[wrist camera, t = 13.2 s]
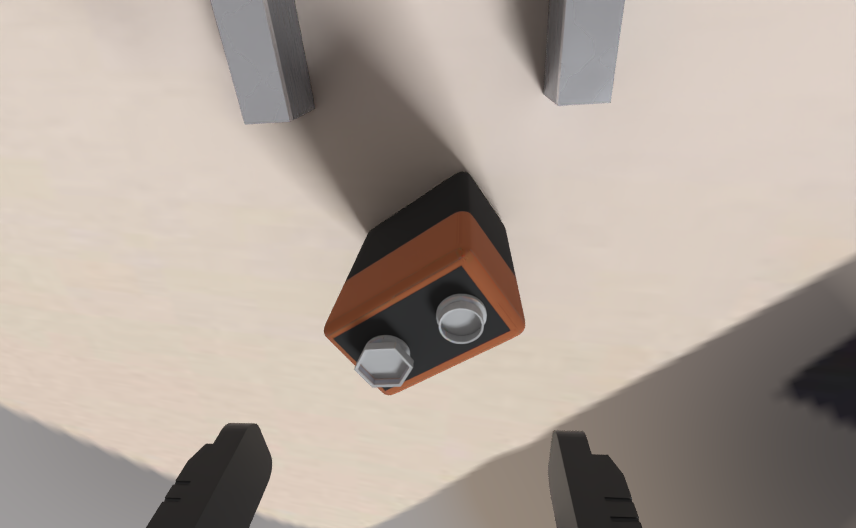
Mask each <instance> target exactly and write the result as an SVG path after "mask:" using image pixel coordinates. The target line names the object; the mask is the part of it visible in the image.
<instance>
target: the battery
mask: <svg viewBox="0 0 856 528" xmlns="http://www.w3.org/2000/svg"><path fill="white" fill-rule="evenodd" d="M524 328H525V318H524V314H523V309H522V304H521V300H520V295H519V290H518V285H517V281H516V276H515V271H514V267H513V262H512V257H511V252H510V248H509V243H508V238H507V234H506V229H505V227H504V225H503V223H502V222H501V220H500V219H499V217H498V216H497V214H496V213H495V212H494V210H493V209H492V207H491V206H490V204H489V203H488V201H487V200H486V198H485V197H484V195H483V194H482V192H481V191H480V189H479V188H478V186H477V185H476V183H475V182H474V180H473V179H472V178H471V176H470V175H469V174H468V173H467V172H459V173H457V174H455V175H454V176H452V177H450V178H449V179H447V180H446V181H444V182H443V183H441V184H440V185H438V186H437V187H435V188H434V189H432V190H431V191H429V192H428V193H426V194H425V195H423V196H422V197H420V198H419V199H417V200H416V201H414V202H413V203H411V204H410V205H408V206H407V207H405V208H404V209H402V210H401V211H399V212H398V213H396V214H395V215H393V216H392V217H390V218H389V219H387V220H385V221H384V222H382V223H381V224H379V225H378V226H376V227H375V228H374V229H372V230H371V231H370V232H369V233H368V235H367V237H366V239H365V241H364V243H363V245H362V247H361V249H360V252H359V254H358V256H357V258H356V260H355V262H354V264H353V267H352V269H351V271H350V273H349V275H348V277H347V279H346V282H345V284H344V286H343V288H342V290H341V292H340V294H339V296H338V299H337V301H336V303H335V305H334V307H333V309H332V311H331V314H330V316H329V318H328V320H327V322H326V324H325V327H324V334H325V336H326V337H327V338H328V339H329V340H330V341H331V342H332V343H333V344H334V345H335V346H336V347H337V348H338V349H339V350H340V351H341V352H342V353H343V354H344V355H345V356H346V357H347V358H348V359H349V360H350V361H351V362H352V363H353V364H354V365H355V369H354V370H355V371H356V372H357V373H358V374H359V375H360V376H361V377H362V378H363V379H364V380H365V381H366V382H367V383H368V384H369V385H370V386H371V387H377V388H378V389H379V390H380V391H382V392H383V393H384V394H386V395H393V394H395V393H398V392H400V391H402V390H404V389H406V388H408V387H411V386H413V385H415V384H417V383H419V382H421V381H423V380H425V379H427V378H430V377H432V376H434V375H436V374H438V373H440V372H442V371H444V370H447V369H449V368H451V367H453V366H455V365H457V364H459V363H461V362H463V361H466V360H468V359H470V358H472V357H474V356H476V355H478V354H480V353H482V352H485V351H487V350H489V349H491V348H493V347H495V346H497V345H499V344H502V343H504V342H506V341H508V340H510V339H512V338H514V337H516V336H518V335H519V334H521V333H522V332H523V330H524Z"/></svg>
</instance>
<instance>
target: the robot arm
mask: <svg viewBox="0 0 856 528" xmlns="http://www.w3.org/2000/svg"><path fill="white" fill-rule="evenodd" d="M271 470H272V458H271V455H270V452H269V450H268V447H267V445H266V442H265V440H264V438H263V435H262V433H261V430H260V428H259V426H258V425H257V424H252V423H228V424H227V425H225V426H224V427H223V429H222V430H221V432H220V433H219V435H218V437H217V438H216V440H215V442H214V444H205V445H204V446H203V447H202V448H201V449H200V450H199V451H198V452H197V453H196V454H195V455H194V456H193V457H192V458H190V459H189V460H188V462H187V463H186V465H185V466H184V468H183V470H182V471H181V473H180V474H179V476H178V478H177V479H176V483H175V485H173V486H172V487H171V489H170V490H169V492H168V493H167V495H166V497H165V501H164V502H162V503H161V505H160V506H159V508H158V509H157V511H156V513H155V514H154V516H153V517H152V519H151V520H150V522H149V524H148V526H147V527H146V528H249V526H250V524H251V521H252V519H253V517H254V514H255V512H256V510H257V507H258V505H259V503H260V500H261V498H262V496H263V493H264V491H265V489H266V486H267V484H268V482H269V479H270V475H271ZM548 475H549V487H550V493H551V499H552V504H553V510H554V515H555V521H556V526H557V528H642V526H641V523H640V522H639V517H638V514H637V511H636V508H635V506H634V503H633V502H632V497H631V494H630V491H629V489H628V486H627V483H626V480H625V477H624V475H623V473H622V472H621V471H620V470H619V468H618V467H617V466H616V464H615V463H614V462H613V461H612V460H611V458H610V457H609V456H608V455H593V454H591V451H590V448H589V444H588V440H587V437H586V435H585V433H584V432H583V431H556V430H554V431H553V434H552V441H551V449H550V457H549V465H548Z"/></svg>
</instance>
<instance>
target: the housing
mask: <svg viewBox="0 0 856 528" xmlns="http://www.w3.org/2000/svg"><path fill="white" fill-rule="evenodd" d="M624 2H625V0H549V14H548V30H547V45H546V61H545V77H544V92H543V94H544V95H545V96H546V97H548V98H549V99H550V100H551V101H553V102H554V103H555V104H556V105H558V106H563V105H580V104H596V103H611V95H612V88H613V81H614V74H615V67H616V59H617V52H618V45H619V38H620V31H621V24H622V16H623V9H624ZM211 4H212V8H213V11H214V15H215V18H216V22H217V26H218V29H219V33H220V37H221V40H222V44H223V47H224V51H225V55H226V58H227V62H228V66H229V69H230V73H231V76H232V80H233V84H234V87H235V91H236V95H237V98H238V102H239V105H240V109H241V113H242V116H243V120H244V123H245V124H259V123H276V122H290V121H292V120H294V119H296V118H298V117H300V116H302V115H303V114H305V113H307V112H309V111H311V110H313V109H315V105H314V100H313V95H312V90H311V84H310V79H309V74H308V69H307V64H306V58H305V53H304V48H303V43H302V37H301V32H300V27H299V22H298V17H297V11H296V6H295V1H294V0H211Z"/></svg>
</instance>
